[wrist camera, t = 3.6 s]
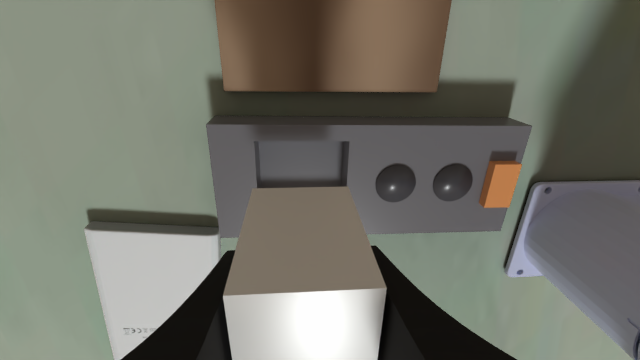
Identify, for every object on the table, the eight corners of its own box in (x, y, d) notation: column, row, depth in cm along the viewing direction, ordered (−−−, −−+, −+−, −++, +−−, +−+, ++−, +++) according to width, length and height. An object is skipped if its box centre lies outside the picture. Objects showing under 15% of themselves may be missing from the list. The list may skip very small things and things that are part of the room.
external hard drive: (222, 222, 22) (224, 348, 27) (96, 216, 21) (122, 347, 26) (217, 236, 20) (220, 366, 25) (80, 229, 19) (111, 366, 24)
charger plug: (348, 186, 13) (387, 287, 8) (343, 262, 15) (373, 391, 9) (252, 188, 13) (223, 295, 7) (258, 266, 15) (238, 401, 9)
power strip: (505, 116, 20) (539, 128, 17) (479, 212, 23) (506, 236, 20) (216, 114, 19) (203, 127, 16) (227, 216, 21) (217, 243, 19)
